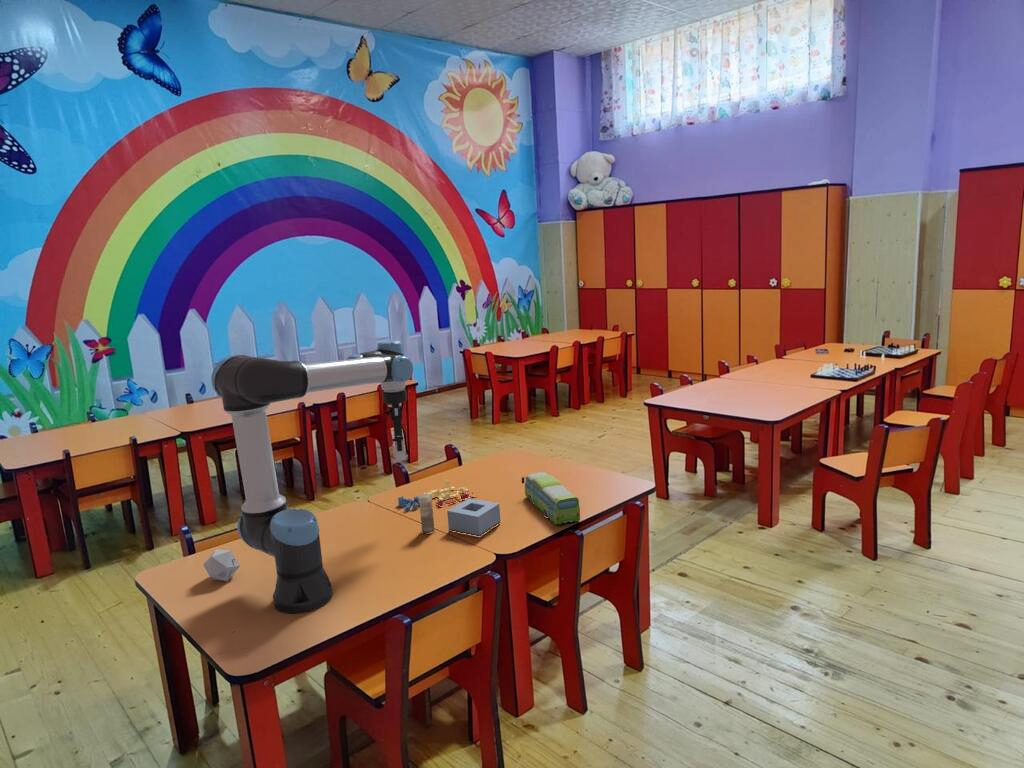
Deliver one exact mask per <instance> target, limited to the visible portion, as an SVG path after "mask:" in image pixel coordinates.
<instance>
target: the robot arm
mask: <svg viewBox="0 0 1024 768" xmlns="http://www.w3.org/2000/svg"><path fill="white" fill-rule="evenodd" d="M413 373H414V364H413V362H412V360H411V358H409V357H407V356H405V355H404V351H403V345H402V342H401V341H399V340H396V339H393V340H382V341H379V342H378V343H377V348H376V350H371V351H370V350H369V351H363V352H360V353H359V352H358V353H357V352H356V353H355V354H350V355H348V356H347V357H346V358H345V359H339V360H331V361H329V360H328V361H321V362H310V363H309V362H308V363H303V362H302V361H300V360H290V361H289V360H276V359H271V358H265V357H255V356H248V355H246V354H239V355H238V354H236V355H233V354H232V355H229V356H226V357H224V358H223V359H221V360H219V361H218V363H216V365H215V366H214V367H213V370H212V373H211V377H210V379H211V385H212V386H211V387H212V388H213V390H214V391H215V393H216V395H218V396H220V397H221V400H222V406H223V411H224V413H226V414H228V415H230V416H231V421H232V422H231V423H232V427H233V433H234V439H235V445H236V448H237V449H236V450H237V456H238V462H239V466H240V467H239V469H240V473H241V478H242V479H241V480H242V484H243V490H244V496H245V501H244V503H242V505H241V506H240V507H241V508H240V509H241V513H240V517H239V518H238V520H237V524H236V525H237V533H238V536H239V537H240V539H241V541H243V543H245V544H246V545H248V547H250V548H252V549H255V550H257V551H259V552H263V553H265V554H267V555H269V556H271V557H273V558H274V561H275V569H276V580H275V581H276V582H275V587H274V592H273V595H272V600H273V607H274V608H275V610H277V611H279V612H281V613H285V614H300V613H306V612H310V611H313V610H316V609H318V608H320V607H322V606H324V605H325V604H327V603H329V601H330V600H331V599H332V598H333V595H334V594H333V593H334V592H333V585H332V582H331V580H330V578H329V576H328V574H327V572H326V570H325V569H324V563H323V557H322V547H321V539H320V526H319V523H318V518H317V517H316V515H315V514H314V513H313V512H311V511H310V510H307V509H304V508H298V509H297V508H288V503H287V499H286V498H287V497H285V496H283V495H282V494H280V491H279V484H278V478H277V473H276V466H275V461H274V453H273V447H272V442H271V441H272V440H271V435H270V428H269V422H268V415H267V409H268V408H269V407H270V405H271V404H272V403H277V402H283V401H290V400H294V399H301V398H305V396H306V395H307V394H308V393H315V392H323V391H328V390H338V389H344V388H351V387H356V386H357V387H359V386H366V385H373V384H379V383H380V386H381V390H382V392H381V395H382V402H383V404H386V405H391V406H390V407H389V414H390V418H391V419H390V420H391V422H392V425H393V438H392V442H394V450H395V461H396V462H400V461H405V460H406V455H405V446H404V444H405V443H404V437H403V429H404V428H405V427H404V424H402V421H403V406H401V405H400V404H402V403H405V402H407V400H408V396H407V389H406V386H407V385H406V382H407V381H409V380H410V379H411V378H412V376H413Z"/></svg>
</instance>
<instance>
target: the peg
mask: <svg viewBox="0 0 1024 768" xmlns="http://www.w3.org/2000/svg"><path fill="white" fill-rule="evenodd" d="M418 496H419V503H420V508H419V513H420V523H421V533H422V532H423V533H430V532H433V531H434V532H435V521H434V508H433V499H432V495H430V494H423V493H422V494H420V495H418ZM423 533H422V534H423Z"/></svg>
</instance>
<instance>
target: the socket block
mask: <svg viewBox="0 0 1024 768" xmlns="http://www.w3.org/2000/svg"><path fill="white" fill-rule="evenodd" d="M500 508H501V507H500V503H499V502H492V501H487V500H482V499H476V498H468V499H467V500H465V501H462V502H459V503H458V504H455V506H453V507H451V508H450V509H447V511H446V514H447V526H448V531H449V530H451V531H456V532H460V533H466V534H471V535H476V536H481V535H482V534H484V533H485V532H487V531H488V530H490V529H491V528H492V527H494V526H496V525H497V524H499V523H501V510H500Z"/></svg>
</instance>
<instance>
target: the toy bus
mask: <svg viewBox="0 0 1024 768" xmlns="http://www.w3.org/2000/svg"><path fill="white" fill-rule="evenodd" d="M521 484H524V494H525V497H527V499H528V498H529V499H528V500H530V501H531V502H533V503H534V504H533V503H532V504H533V505H534V506H536V507H537V509H539V510H540V512H542V513H543V516H544V517H545V516H546V517H548V518H549V519H550V521H551V522H552V523H553V524H554V525H555V524H556V525H555V526H557V524H559V525H562V524H561V523H565V524H568V523H567V522H570V523H574V522H573V521H575V522H578V521H579V522H580V521H581V507H580V501H579V498H578V497H577V496H576V495H575V494H574V493H572V492H570V491H569V490H568V489H567V488H565V487H564V486H563V484H562V483H561V482H560V480H558V479H557V478H556V477H555V476H553V475H551V474H549V473H548V472H545V471H542V472H535V473H530V474H528V475H527V476H522V477H521ZM530 501H529V502H530ZM548 518H547V519H548ZM549 519H548V520H549Z"/></svg>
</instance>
